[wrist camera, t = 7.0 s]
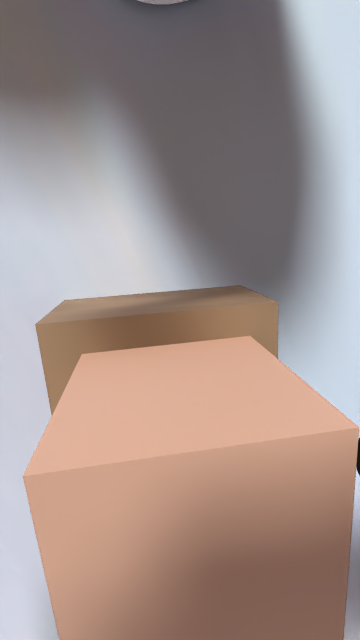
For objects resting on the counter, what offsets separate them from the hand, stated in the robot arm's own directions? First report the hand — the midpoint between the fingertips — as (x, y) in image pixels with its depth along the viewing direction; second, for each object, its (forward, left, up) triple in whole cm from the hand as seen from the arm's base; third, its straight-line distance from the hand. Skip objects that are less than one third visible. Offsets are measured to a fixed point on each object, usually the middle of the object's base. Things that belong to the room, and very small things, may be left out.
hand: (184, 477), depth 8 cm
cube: (0, 0, -2) cm, 3 cm away
